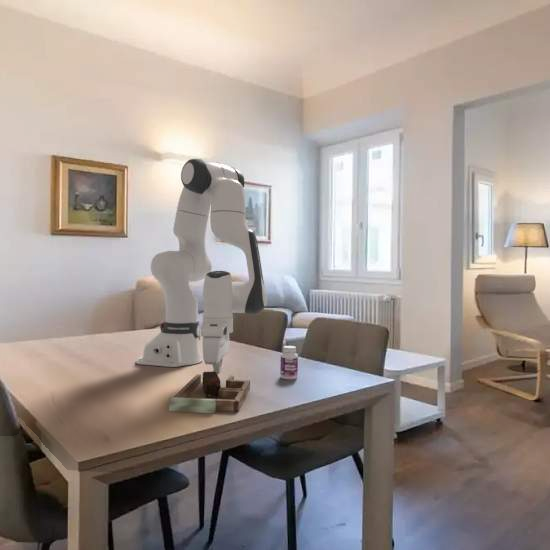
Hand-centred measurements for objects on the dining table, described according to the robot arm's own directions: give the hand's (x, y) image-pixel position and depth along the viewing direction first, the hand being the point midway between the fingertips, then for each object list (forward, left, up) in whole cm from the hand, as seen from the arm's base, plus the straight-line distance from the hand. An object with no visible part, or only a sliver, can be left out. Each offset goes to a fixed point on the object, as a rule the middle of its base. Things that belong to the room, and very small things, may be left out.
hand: (217, 373), depth 137 cm
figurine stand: (-30, +66, -3) cm, 73 cm away
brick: (0, -10, -3) cm, 10 cm away
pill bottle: (+21, +9, -3) cm, 23 cm away
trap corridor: (+2, -14, -3) cm, 15 cm away
